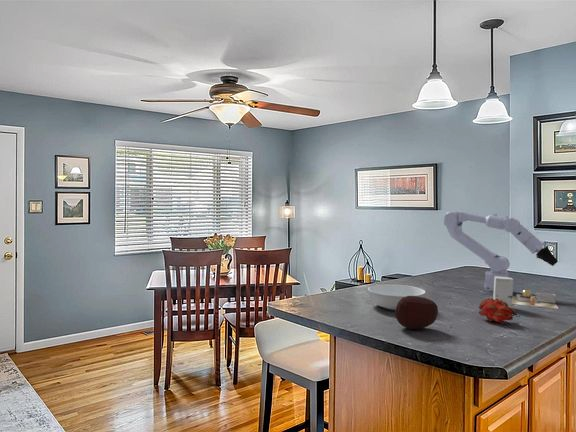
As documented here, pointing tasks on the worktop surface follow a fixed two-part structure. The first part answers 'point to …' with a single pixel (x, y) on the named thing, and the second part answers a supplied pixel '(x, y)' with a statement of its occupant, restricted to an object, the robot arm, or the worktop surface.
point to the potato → (416, 312)
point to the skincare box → (503, 289)
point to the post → (526, 294)
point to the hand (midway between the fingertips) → (555, 263)
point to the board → (538, 304)
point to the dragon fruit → (496, 310)
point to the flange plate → (539, 298)
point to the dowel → (532, 300)
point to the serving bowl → (392, 294)
